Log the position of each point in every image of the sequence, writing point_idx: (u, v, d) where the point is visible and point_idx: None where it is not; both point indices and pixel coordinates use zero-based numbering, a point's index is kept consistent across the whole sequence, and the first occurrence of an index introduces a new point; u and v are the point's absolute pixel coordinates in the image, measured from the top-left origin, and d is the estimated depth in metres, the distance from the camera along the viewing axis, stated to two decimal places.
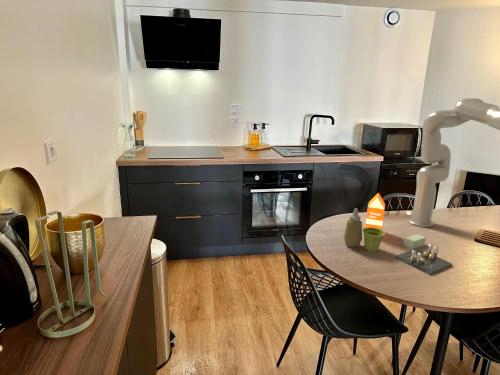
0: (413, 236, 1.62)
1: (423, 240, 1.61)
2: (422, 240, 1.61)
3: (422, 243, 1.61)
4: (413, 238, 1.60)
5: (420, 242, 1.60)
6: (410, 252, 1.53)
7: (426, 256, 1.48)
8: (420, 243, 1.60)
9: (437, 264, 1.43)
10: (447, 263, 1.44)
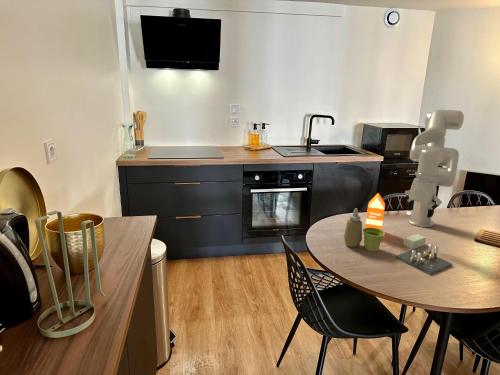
0: (413, 236, 1.62)
1: (423, 240, 1.61)
2: (422, 240, 1.61)
3: (422, 243, 1.61)
4: (413, 238, 1.60)
5: (419, 242, 1.60)
6: (410, 252, 1.53)
7: (426, 256, 1.48)
8: (420, 243, 1.60)
9: (437, 264, 1.43)
10: (447, 263, 1.44)
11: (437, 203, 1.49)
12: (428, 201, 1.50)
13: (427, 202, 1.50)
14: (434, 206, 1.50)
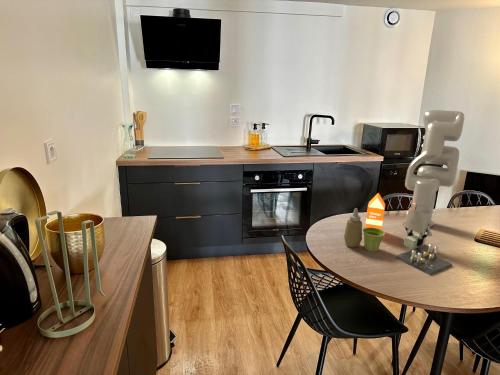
0: (413, 236, 1.62)
1: (423, 240, 1.61)
2: None
3: None
4: (413, 237, 1.60)
5: None
6: (410, 252, 1.53)
7: (426, 256, 1.48)
8: None
9: (437, 264, 1.43)
10: (447, 263, 1.44)
11: (427, 234, 1.55)
12: (423, 231, 1.54)
13: (422, 232, 1.55)
14: (423, 236, 1.56)
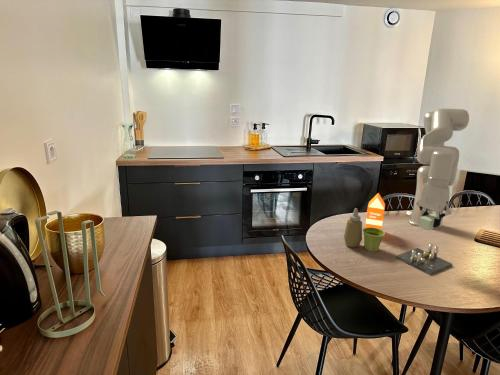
0: (428, 216, 1.42)
1: None
2: None
3: None
4: (429, 217, 1.40)
5: None
6: (410, 252, 1.53)
7: (426, 256, 1.48)
8: None
9: (437, 264, 1.43)
10: (447, 263, 1.44)
11: (445, 213, 1.35)
12: (440, 209, 1.34)
13: (439, 210, 1.35)
14: (441, 215, 1.36)
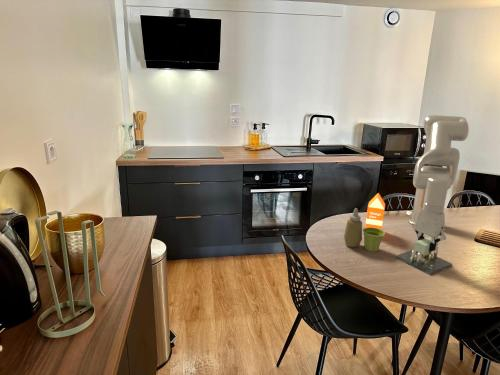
0: (424, 240, 1.45)
1: None
2: None
3: None
4: (424, 241, 1.43)
5: None
6: (410, 252, 1.53)
7: (426, 256, 1.48)
8: None
9: (437, 264, 1.43)
10: (447, 263, 1.44)
11: (441, 238, 1.38)
12: (436, 234, 1.37)
13: (435, 235, 1.38)
14: (436, 240, 1.39)
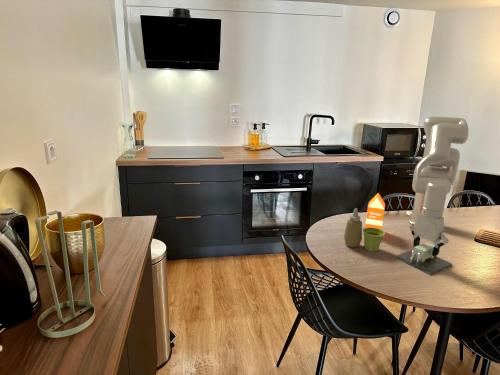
0: (423, 245, 1.46)
1: None
2: None
3: None
4: (423, 247, 1.44)
5: (431, 251, 1.44)
6: (410, 252, 1.53)
7: None
8: (431, 253, 1.44)
9: (437, 264, 1.43)
10: (447, 263, 1.44)
11: (443, 242, 1.37)
12: (435, 239, 1.38)
13: (434, 240, 1.38)
14: (440, 244, 1.38)
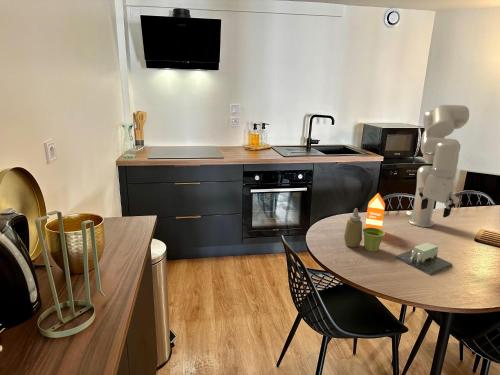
0: (423, 245, 1.46)
1: (434, 249, 1.45)
2: (433, 249, 1.45)
3: (433, 253, 1.45)
4: (423, 247, 1.44)
5: (431, 251, 1.44)
6: (410, 252, 1.53)
7: None
8: (431, 253, 1.44)
9: (437, 264, 1.43)
10: (447, 263, 1.44)
11: (455, 202, 1.35)
12: (444, 199, 1.36)
13: (443, 200, 1.37)
14: (451, 205, 1.36)
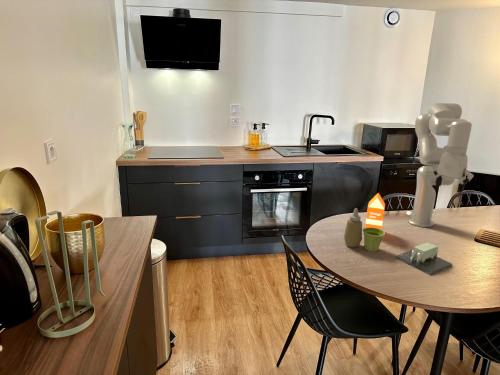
0: (423, 245, 1.46)
1: (434, 249, 1.45)
2: (433, 249, 1.45)
3: (433, 253, 1.45)
4: (423, 247, 1.44)
5: (431, 251, 1.44)
6: (410, 252, 1.53)
7: None
8: (431, 253, 1.44)
9: (437, 264, 1.43)
10: (447, 263, 1.44)
11: (468, 177, 1.43)
12: (459, 175, 1.44)
13: (458, 176, 1.45)
14: (465, 180, 1.44)
